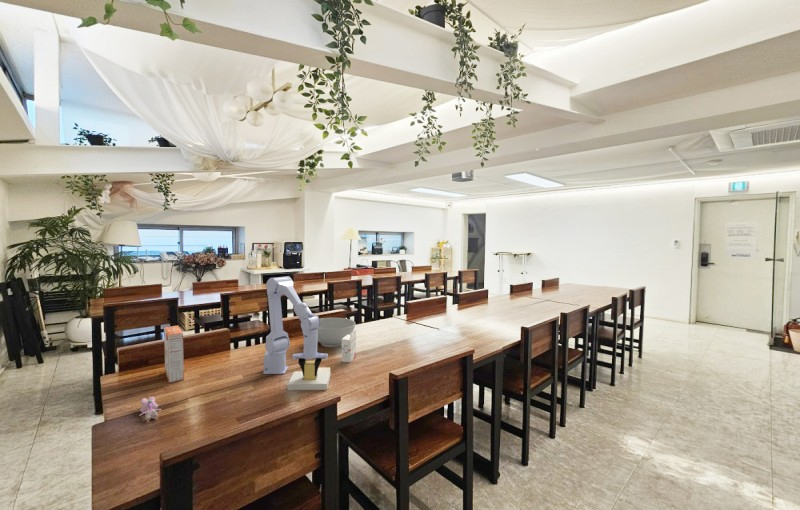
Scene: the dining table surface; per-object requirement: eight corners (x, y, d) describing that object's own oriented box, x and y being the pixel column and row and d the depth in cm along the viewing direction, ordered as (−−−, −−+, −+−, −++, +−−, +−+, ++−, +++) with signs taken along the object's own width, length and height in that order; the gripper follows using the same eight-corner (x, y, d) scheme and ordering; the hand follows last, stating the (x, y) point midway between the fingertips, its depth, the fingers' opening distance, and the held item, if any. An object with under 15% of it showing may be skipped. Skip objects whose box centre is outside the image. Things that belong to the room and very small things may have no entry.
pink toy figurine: (163, 422, 119) (157, 399, 129) (163, 407, 117) (157, 385, 128) (140, 429, 114) (136, 404, 125) (140, 413, 113) (136, 389, 124)
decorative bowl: (318, 335, 217) (318, 316, 216) (360, 338, 213) (360, 319, 212) (300, 349, 190) (300, 327, 189) (347, 353, 187) (348, 331, 186)
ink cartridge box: (346, 356, 183) (347, 328, 182) (355, 356, 182) (356, 329, 181) (341, 361, 174) (341, 333, 173) (350, 362, 173) (350, 334, 172)
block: (304, 385, 147) (304, 364, 146) (305, 381, 151) (306, 360, 150) (314, 385, 147) (314, 364, 147) (315, 380, 151) (316, 360, 151)
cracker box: (164, 372, 156) (163, 326, 154) (179, 369, 159) (179, 324, 158) (167, 383, 145) (166, 334, 143) (184, 380, 148) (183, 332, 147)
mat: (310, 375, 157) (310, 374, 157) (313, 368, 165) (313, 367, 165) (328, 375, 158) (328, 374, 158) (330, 368, 166) (330, 367, 166)
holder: (287, 390, 142) (287, 384, 142) (294, 376, 155) (294, 371, 155) (327, 389, 143) (327, 383, 143) (330, 376, 156) (330, 371, 156)
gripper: (291, 347, 143) (290, 379, 144) (326, 347, 145) (326, 379, 146) (294, 342, 150) (294, 372, 151) (328, 342, 152) (328, 372, 153)
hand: (310, 375), depth 149 cm, fingers closed on block, 4 cm apart
